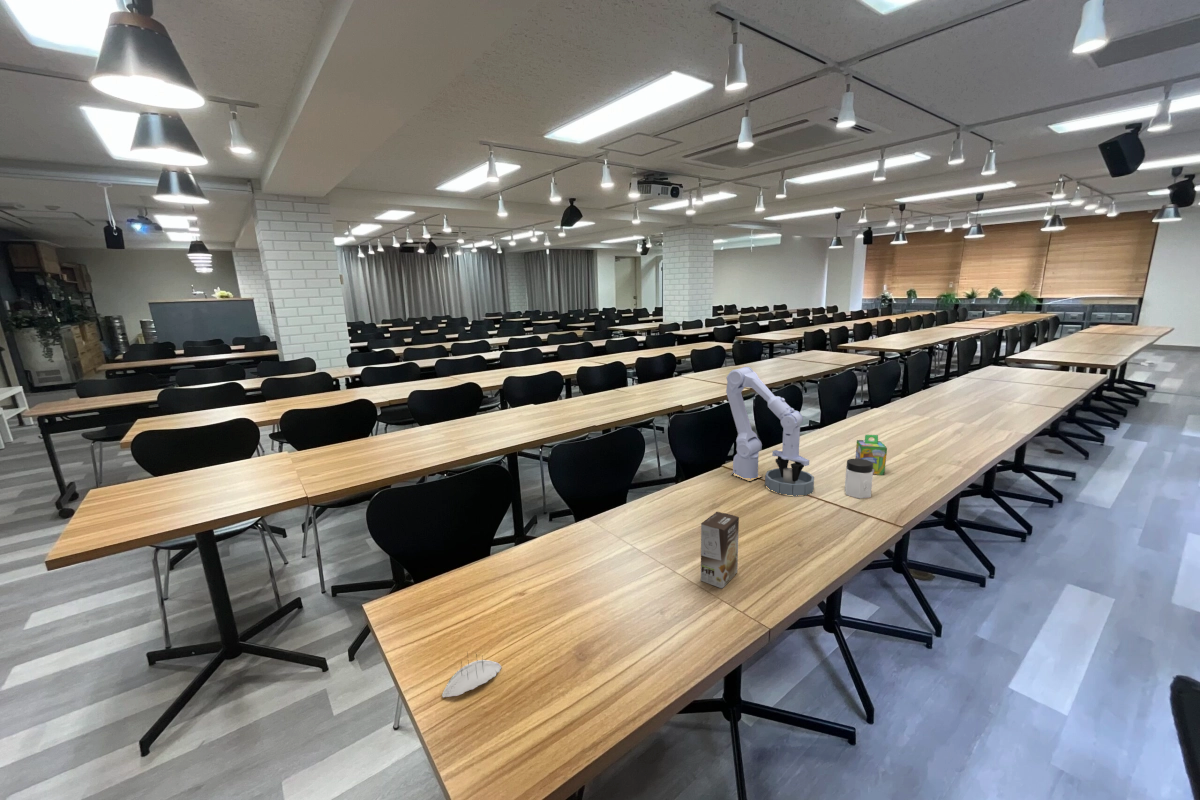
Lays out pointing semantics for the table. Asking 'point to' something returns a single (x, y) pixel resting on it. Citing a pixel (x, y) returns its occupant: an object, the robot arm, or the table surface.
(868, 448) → the chalk box
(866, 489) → the jar
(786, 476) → the pebble
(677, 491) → the table surface
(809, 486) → the bowl
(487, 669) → the pincushion
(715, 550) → the coffee box
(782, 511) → the table surface
